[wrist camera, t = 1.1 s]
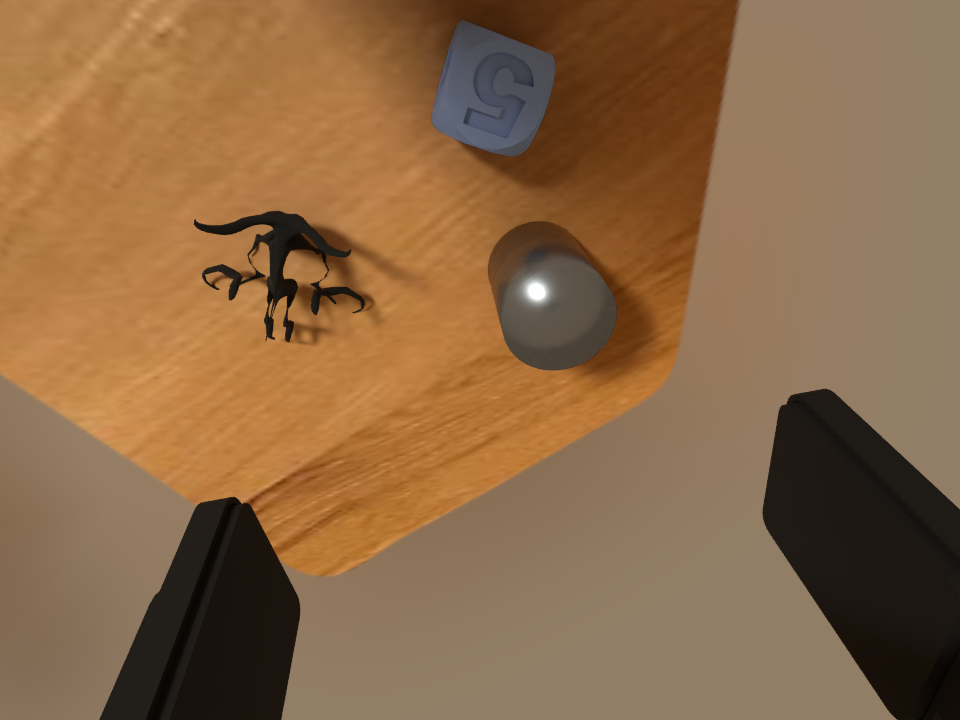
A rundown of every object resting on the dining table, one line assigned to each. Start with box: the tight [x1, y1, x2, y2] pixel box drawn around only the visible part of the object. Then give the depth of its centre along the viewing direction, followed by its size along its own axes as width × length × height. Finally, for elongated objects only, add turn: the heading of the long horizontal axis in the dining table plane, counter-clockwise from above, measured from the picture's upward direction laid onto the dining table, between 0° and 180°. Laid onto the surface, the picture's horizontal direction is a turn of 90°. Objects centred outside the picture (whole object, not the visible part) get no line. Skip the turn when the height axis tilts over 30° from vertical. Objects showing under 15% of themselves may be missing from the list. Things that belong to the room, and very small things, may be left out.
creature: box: [194, 211, 365, 342], centre depth 27 cm, size 8×5×8 cm
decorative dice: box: [431, 20, 556, 157], centre depth 24 cm, size 4×4×4 cm
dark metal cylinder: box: [488, 221, 617, 370], centre depth 27 cm, size 5×5×6 cm
